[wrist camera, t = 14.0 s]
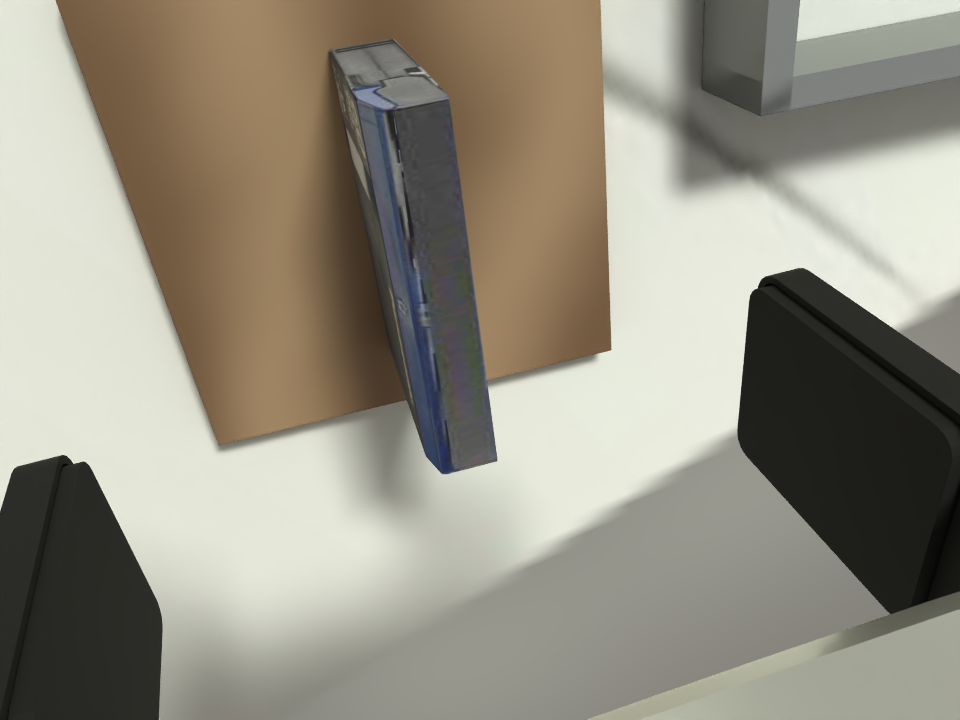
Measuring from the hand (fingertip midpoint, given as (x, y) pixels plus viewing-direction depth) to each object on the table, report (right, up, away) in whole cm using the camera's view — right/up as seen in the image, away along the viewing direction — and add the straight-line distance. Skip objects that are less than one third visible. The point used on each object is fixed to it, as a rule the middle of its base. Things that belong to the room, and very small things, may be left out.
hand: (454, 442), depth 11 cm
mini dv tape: (-2, +5, +10) cm, 11 cm away
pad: (-2, +6, +10) cm, 12 cm away
